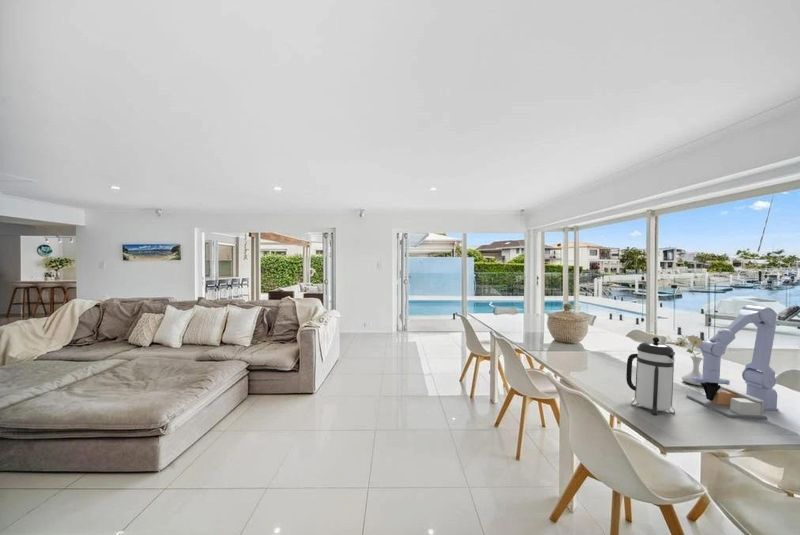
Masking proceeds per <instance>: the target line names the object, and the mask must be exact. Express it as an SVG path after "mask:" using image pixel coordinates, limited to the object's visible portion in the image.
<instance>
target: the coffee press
mask: <svg viewBox="0 0 800 535" xmlns="http://www.w3.org/2000/svg"><path fill="white" fill-rule="evenodd" d="M659 342H660V338H658V337H656V336H654V337H653V338H652V341H645V342H640V343H639V344H638V346H636V350H637V353H632V354H629V356H628V357H627V362H626V374H625V376H626V377H625V378H626V379H625V380H626V383H627V385H628V387H629V388H630V390H633V391H634V399H633V400H632V401H631V403H630V404H631V406H632V407H636V406H641V407H643V408H645V409H649V410H651V411H652V415H653V416H657V415H658V411H660V412H666V411H668V412H669V413H670V414H672V415H674V414H676V411H675V409H674V408H673V394H674V393H673V391H674V390H673V389H674V371H675V370H674V368H675V355H676V352H675V351H674V349H673V348H672V346H669V345H668V344H664V343H659ZM634 359H636V368H635V369H636V372H635V385H634V383H633V382H632V376H633V374H632V373H633V361H634ZM634 402H636V403H635V404H633V403H634ZM671 408H672V410H673V412H672V411H671V410H670V409H671Z"/></svg>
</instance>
